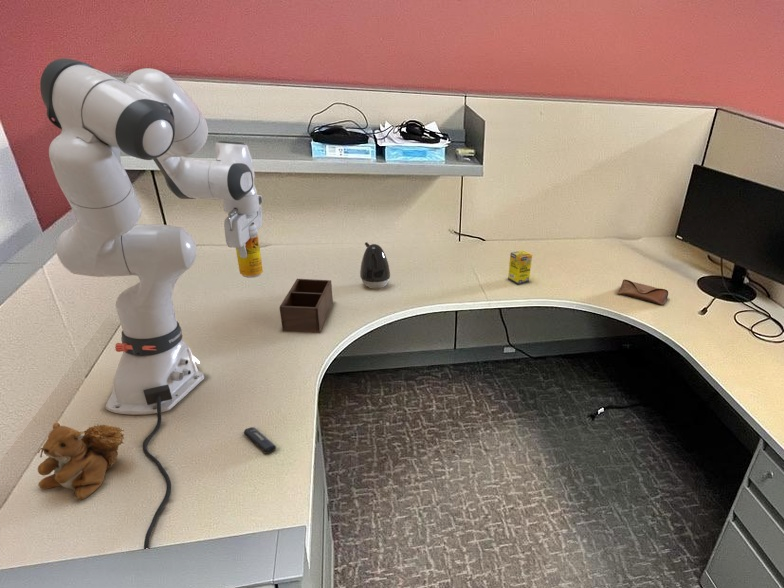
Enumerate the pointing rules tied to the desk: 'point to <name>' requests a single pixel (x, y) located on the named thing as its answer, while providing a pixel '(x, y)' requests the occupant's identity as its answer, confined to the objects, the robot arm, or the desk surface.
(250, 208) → the robot arm
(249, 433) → the usb stick
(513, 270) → the supplement box
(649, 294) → the sunglasses case
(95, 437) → the stuffed squirrel
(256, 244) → the beer can
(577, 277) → the desk surface
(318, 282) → the box
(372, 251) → the black egg-shaped figure
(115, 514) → the desk surface
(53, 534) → the desk surface
